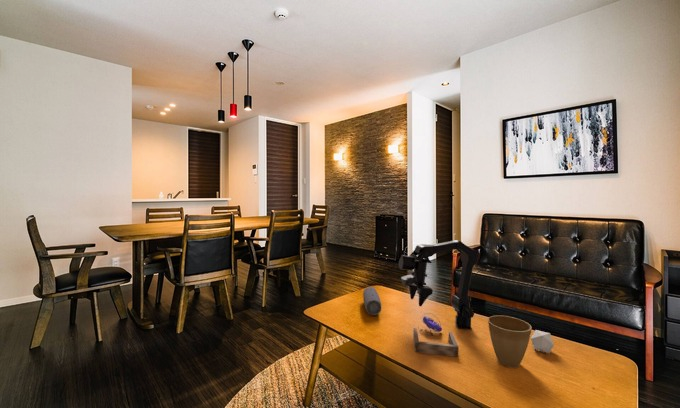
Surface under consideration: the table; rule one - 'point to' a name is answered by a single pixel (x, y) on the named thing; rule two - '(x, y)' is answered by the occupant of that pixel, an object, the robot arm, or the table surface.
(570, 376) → the table surface
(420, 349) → the docking bay
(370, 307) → the bluetooth speaker
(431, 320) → the game controller
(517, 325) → the plant pot
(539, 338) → the die
